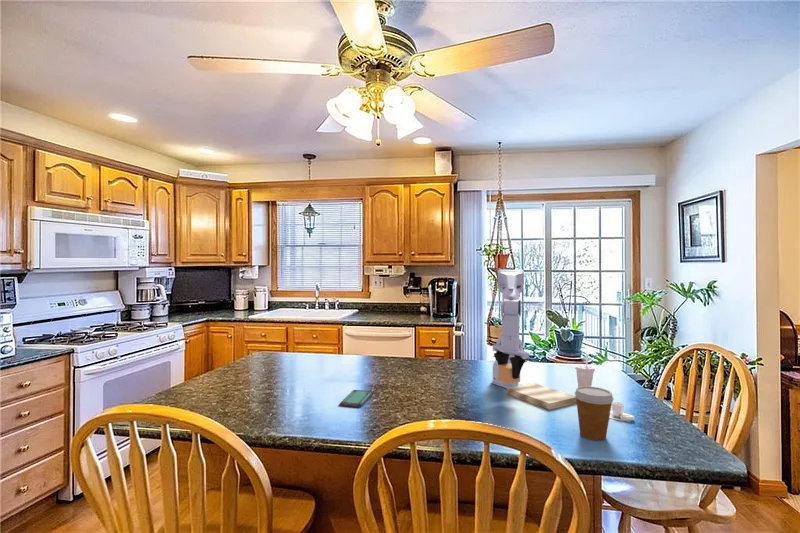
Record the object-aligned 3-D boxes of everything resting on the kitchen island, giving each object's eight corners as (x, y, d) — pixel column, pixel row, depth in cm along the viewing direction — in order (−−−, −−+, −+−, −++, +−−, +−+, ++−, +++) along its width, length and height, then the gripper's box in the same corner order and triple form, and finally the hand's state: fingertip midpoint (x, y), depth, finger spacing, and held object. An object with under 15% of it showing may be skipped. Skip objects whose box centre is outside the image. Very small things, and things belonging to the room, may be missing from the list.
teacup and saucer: (638, 424, 120) (638, 410, 120) (609, 422, 121) (609, 408, 121) (627, 413, 128) (627, 400, 128) (600, 411, 130) (600, 398, 130)
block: (498, 379, 138) (498, 365, 138) (508, 377, 140) (509, 363, 140) (509, 383, 133) (509, 368, 133) (520, 381, 136) (520, 366, 136)
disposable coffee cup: (567, 428, 114) (568, 385, 114) (599, 428, 115) (600, 385, 115) (585, 443, 105) (586, 396, 105) (620, 443, 106) (621, 396, 106)
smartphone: (338, 403, 129) (353, 389, 144) (338, 407, 129) (353, 392, 144) (361, 405, 127) (374, 390, 142) (361, 409, 127) (373, 394, 142)
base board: (506, 393, 145) (507, 388, 145) (534, 388, 152) (534, 382, 152) (549, 409, 129) (549, 403, 129) (577, 402, 136) (577, 396, 136)
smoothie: (596, 397, 143) (597, 357, 143) (576, 395, 144) (577, 356, 144) (591, 391, 149) (592, 353, 149) (572, 390, 150) (573, 352, 150)
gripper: (486, 332, 141) (485, 372, 141) (518, 340, 128) (517, 383, 129) (501, 331, 144) (500, 370, 145) (533, 338, 132) (532, 380, 132)
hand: (509, 376), depth 137 cm, fingers closed on block, 5 cm apart
